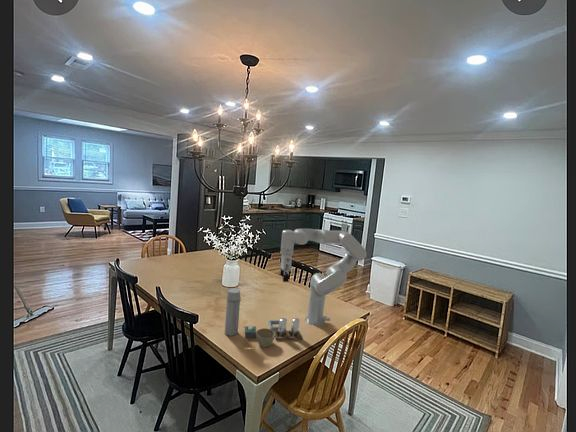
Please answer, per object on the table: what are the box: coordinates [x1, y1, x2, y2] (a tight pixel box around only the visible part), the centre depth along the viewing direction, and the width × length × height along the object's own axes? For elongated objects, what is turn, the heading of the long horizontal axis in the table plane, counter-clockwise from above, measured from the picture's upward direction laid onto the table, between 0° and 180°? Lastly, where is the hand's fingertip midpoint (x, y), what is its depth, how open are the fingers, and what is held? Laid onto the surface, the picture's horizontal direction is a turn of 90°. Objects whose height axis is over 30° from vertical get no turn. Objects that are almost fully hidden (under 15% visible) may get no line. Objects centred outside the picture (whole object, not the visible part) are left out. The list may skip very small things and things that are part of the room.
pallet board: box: [273, 329, 303, 341], centre depth 171 cm, size 14×7×3 cm, turn 101°
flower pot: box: [256, 327, 275, 348], centre depth 162 cm, size 10×10×7 cm
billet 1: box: [277, 317, 288, 337], centre depth 169 cm, size 4×4×10 cm
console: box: [244, 325, 258, 339], centre depth 170 cm, size 6×6×4 cm
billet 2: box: [290, 317, 300, 337], centre depth 171 cm, size 4×4×10 cm
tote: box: [268, 319, 280, 331], centre depth 181 cm, size 8×8×3 cm
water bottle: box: [224, 287, 242, 337], centre depth 169 cm, size 9×8×25 cm
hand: (284, 278), depth 183 cm, fingers open, 9 cm apart
